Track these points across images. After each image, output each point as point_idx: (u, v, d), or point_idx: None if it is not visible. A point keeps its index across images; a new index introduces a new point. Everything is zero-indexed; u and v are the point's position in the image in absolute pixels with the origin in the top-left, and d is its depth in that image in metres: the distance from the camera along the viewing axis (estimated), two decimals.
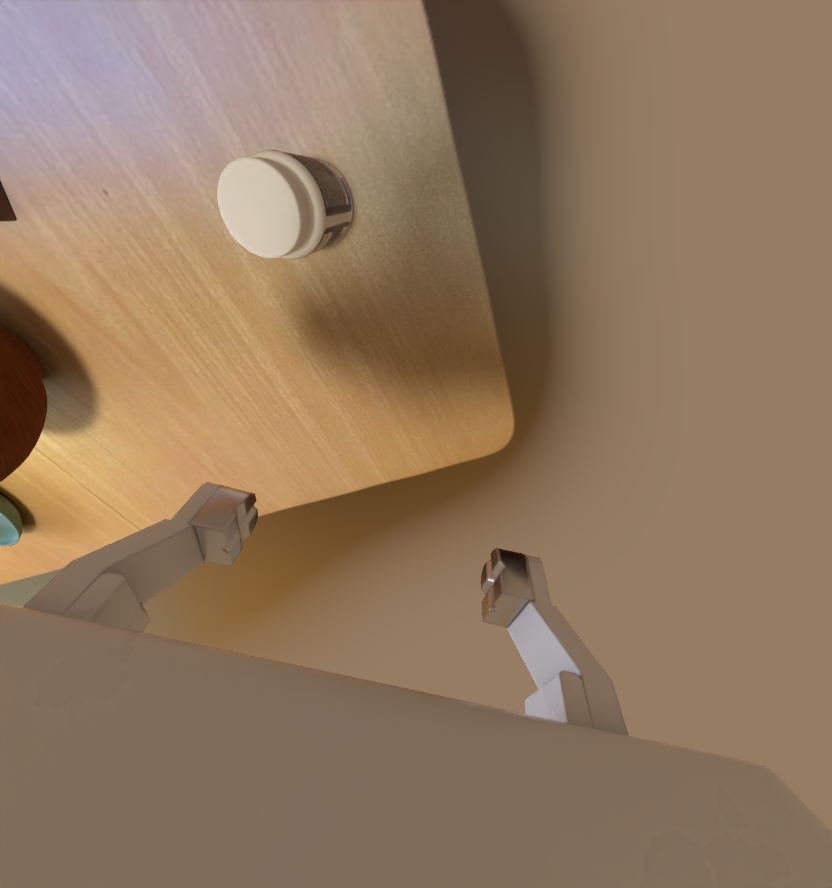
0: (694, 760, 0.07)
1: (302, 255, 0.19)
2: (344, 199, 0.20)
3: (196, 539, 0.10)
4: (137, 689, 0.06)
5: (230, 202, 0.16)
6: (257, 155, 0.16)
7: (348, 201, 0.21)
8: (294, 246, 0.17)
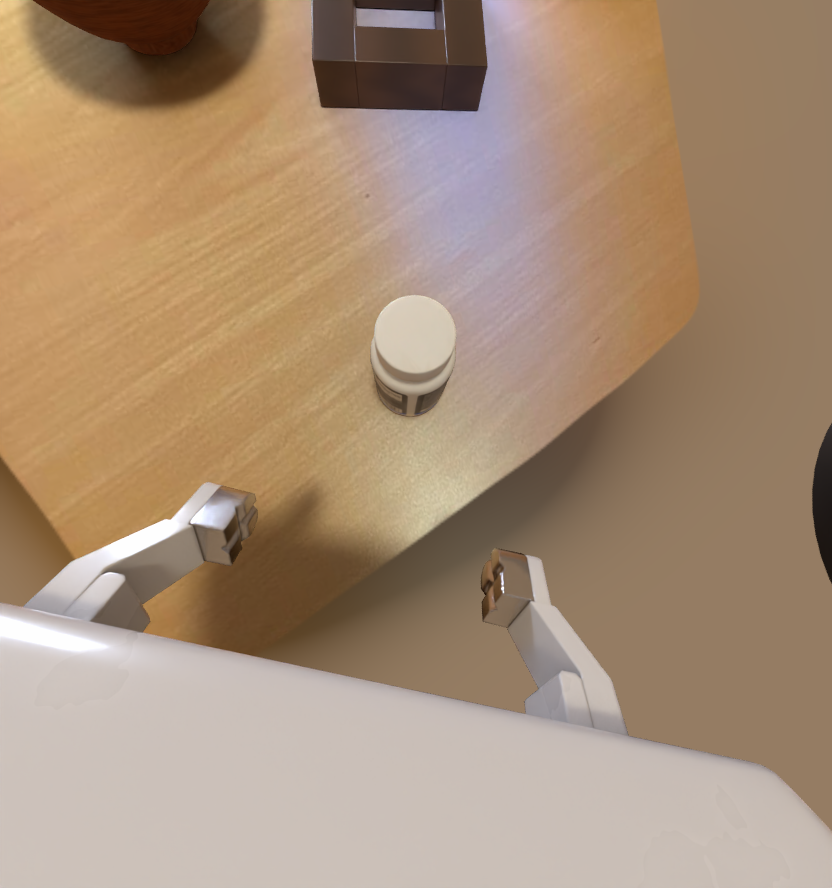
0: (694, 760, 0.07)
1: (379, 374, 0.18)
2: (424, 408, 0.22)
3: (196, 539, 0.10)
4: (137, 689, 0.06)
5: (415, 306, 0.16)
6: None
7: (421, 411, 0.23)
8: (393, 368, 0.16)
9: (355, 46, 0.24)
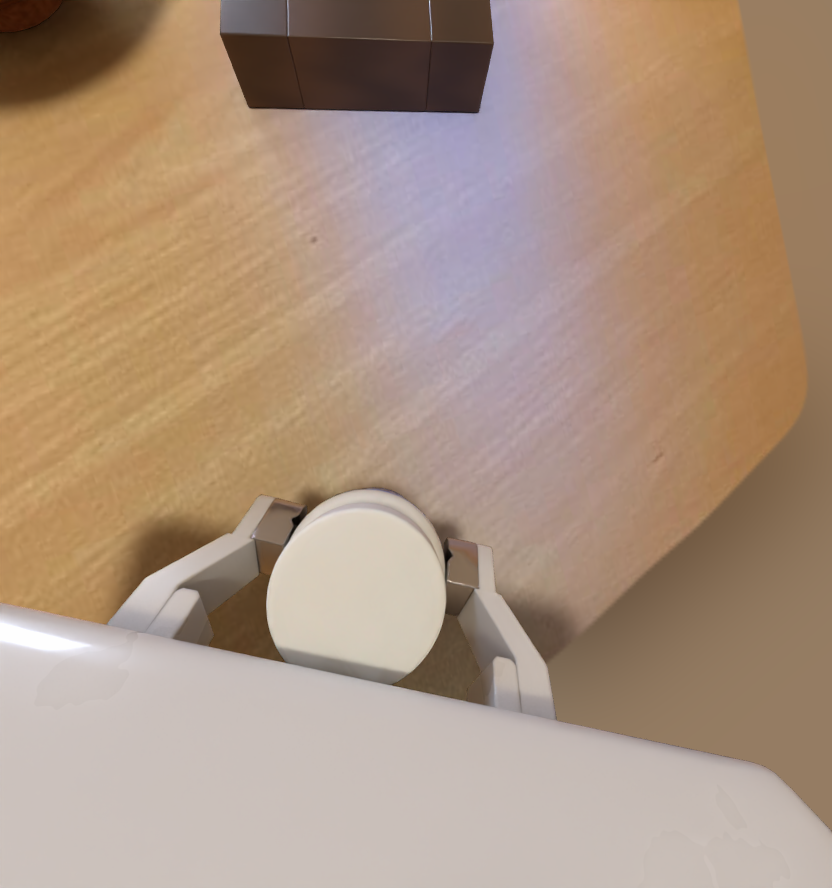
0: (694, 760, 0.07)
1: None
2: None
3: (255, 552, 0.10)
4: (137, 689, 0.06)
5: (359, 537, 0.08)
6: (433, 537, 0.10)
7: None
8: None
9: (288, 13, 0.16)
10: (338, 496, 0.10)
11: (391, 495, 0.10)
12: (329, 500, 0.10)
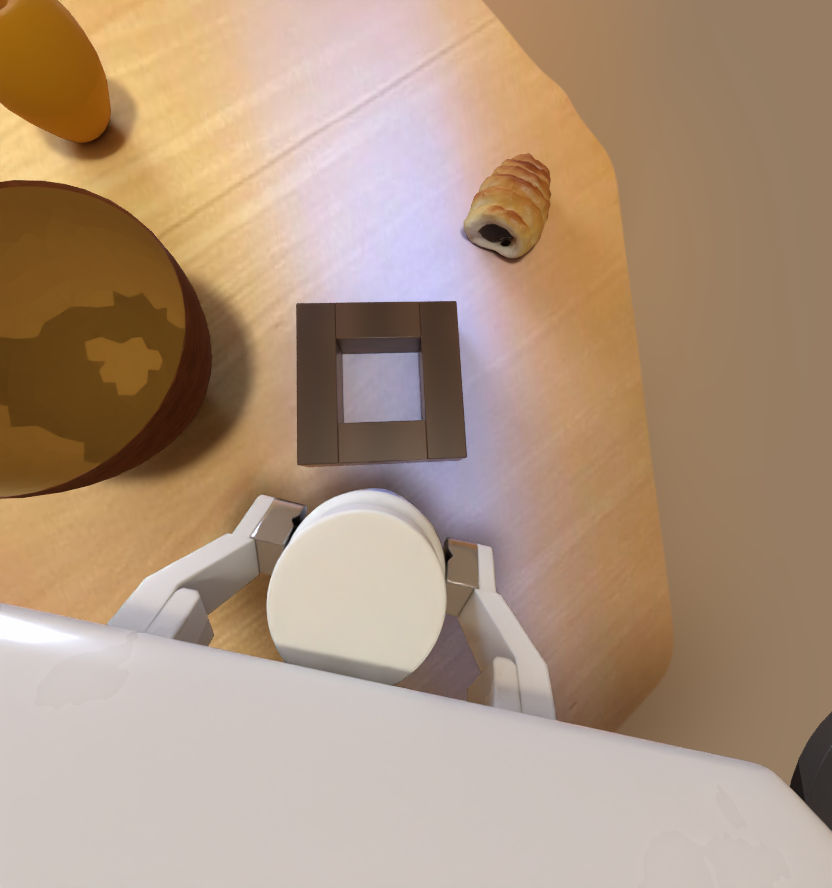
0: (694, 760, 0.07)
1: None
2: None
3: (256, 552, 0.10)
4: (137, 689, 0.06)
5: (359, 538, 0.08)
6: (433, 538, 0.10)
7: None
8: None
9: (339, 446, 0.25)
10: (338, 497, 0.10)
11: (391, 496, 0.10)
12: (329, 501, 0.10)
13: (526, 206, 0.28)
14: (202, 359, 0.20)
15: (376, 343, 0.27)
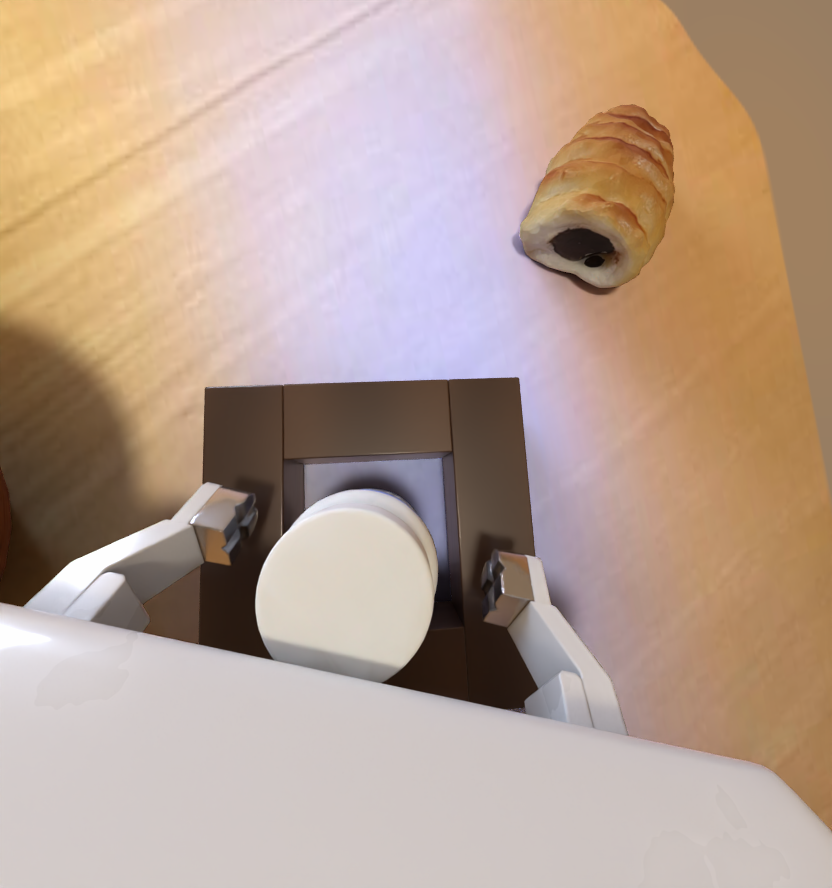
0: (694, 760, 0.07)
1: None
2: None
3: (196, 539, 0.10)
4: (137, 689, 0.06)
5: (347, 536, 0.08)
6: (425, 538, 0.10)
7: None
8: None
9: None
10: (331, 496, 0.10)
11: (384, 495, 0.10)
12: (323, 500, 0.10)
13: (645, 195, 0.15)
14: None
15: (364, 458, 0.14)
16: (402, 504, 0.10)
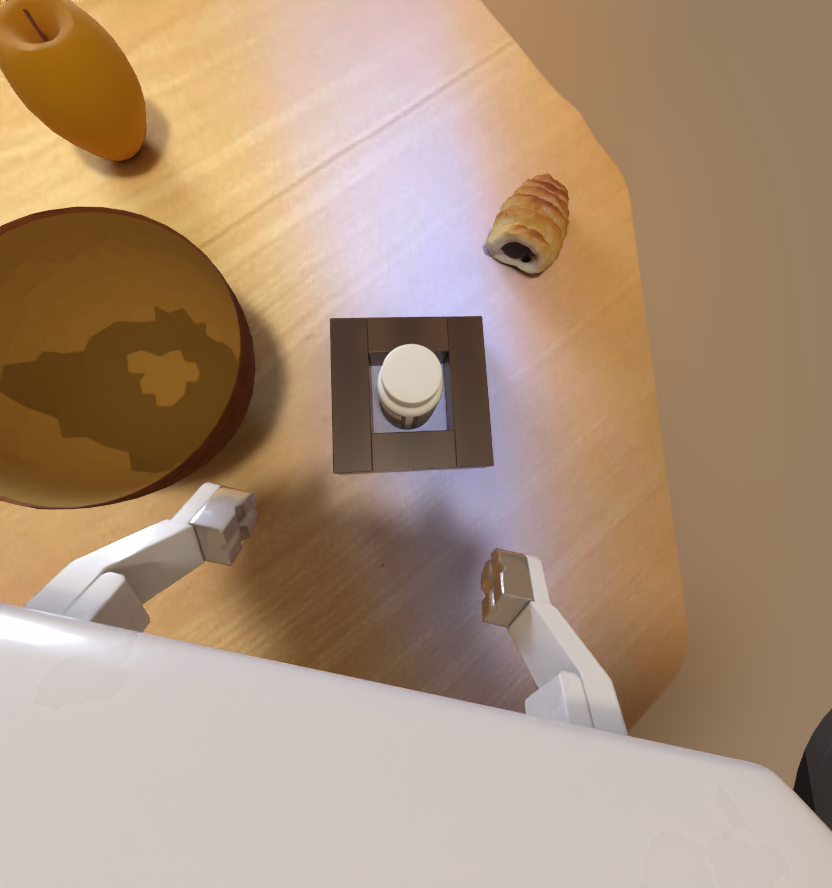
0: (694, 760, 0.07)
1: (384, 401, 0.24)
2: (419, 424, 0.28)
3: (196, 539, 0.10)
4: (137, 689, 0.06)
5: (412, 353, 0.22)
6: None
7: (417, 426, 0.29)
8: (395, 398, 0.22)
9: (372, 455, 0.26)
10: None
11: None
12: None
13: (547, 225, 0.29)
14: (251, 375, 0.21)
15: None
16: None
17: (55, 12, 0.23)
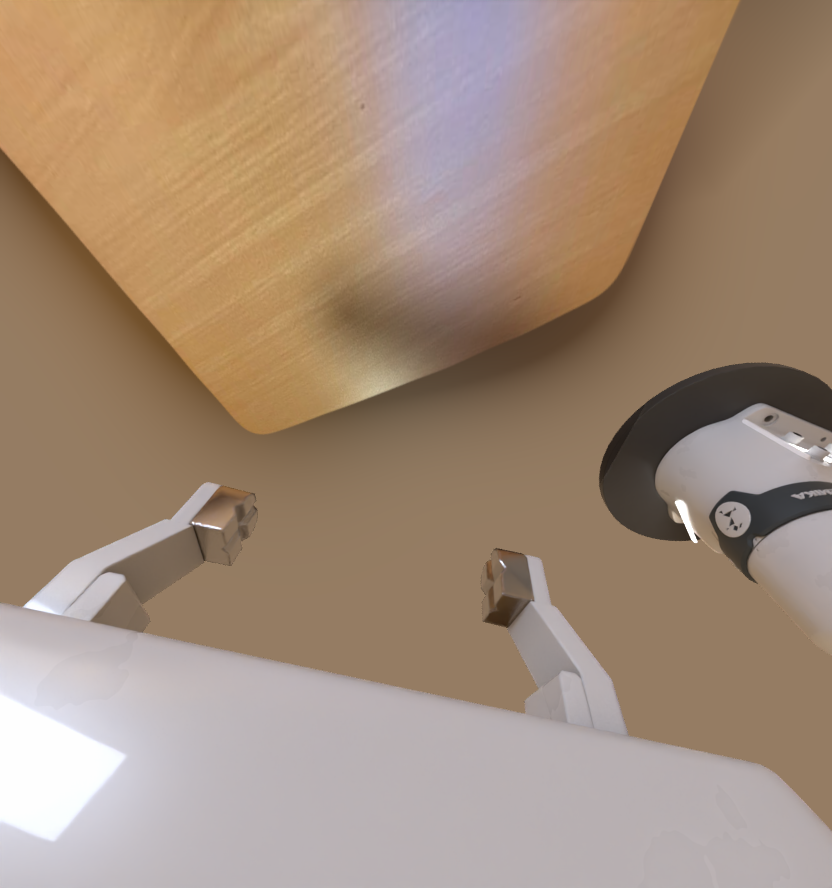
0: (694, 760, 0.07)
1: None
2: None
3: (196, 539, 0.10)
4: (137, 689, 0.06)
5: None
6: None
7: None
8: None
9: None
10: None
11: None
12: None
13: None
14: None
15: None
16: None
17: None
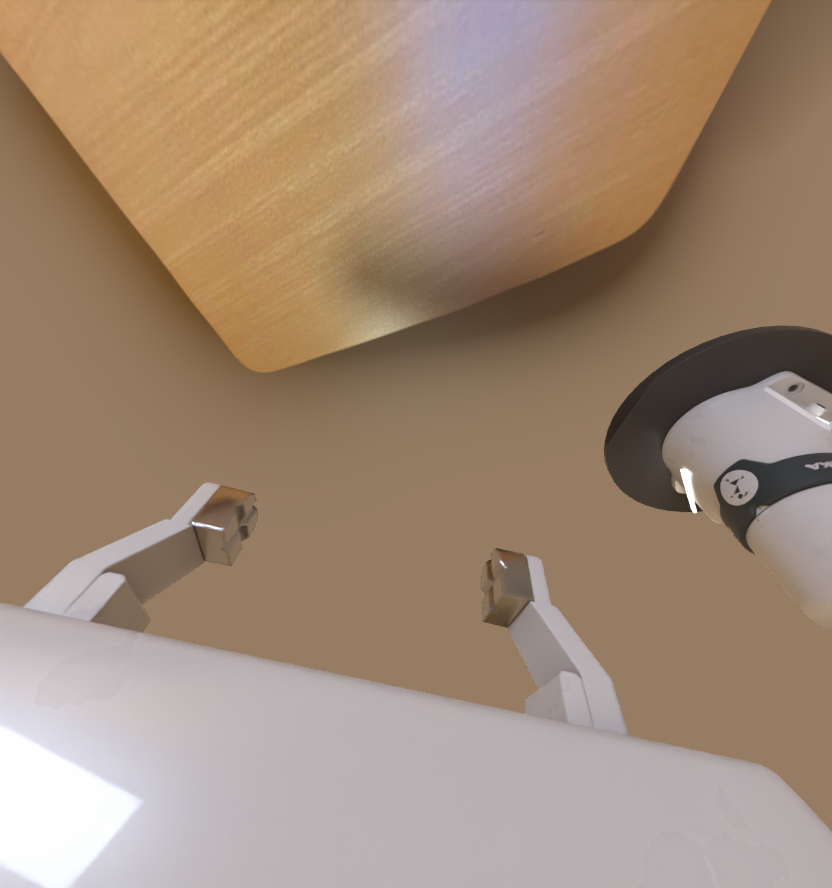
0: (694, 760, 0.07)
1: None
2: None
3: (196, 539, 0.10)
4: (137, 689, 0.06)
5: None
6: None
7: None
8: None
9: None
10: None
11: None
12: None
13: None
14: None
15: None
16: None
17: None
